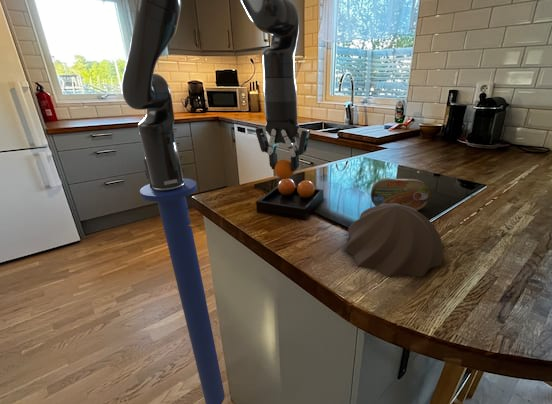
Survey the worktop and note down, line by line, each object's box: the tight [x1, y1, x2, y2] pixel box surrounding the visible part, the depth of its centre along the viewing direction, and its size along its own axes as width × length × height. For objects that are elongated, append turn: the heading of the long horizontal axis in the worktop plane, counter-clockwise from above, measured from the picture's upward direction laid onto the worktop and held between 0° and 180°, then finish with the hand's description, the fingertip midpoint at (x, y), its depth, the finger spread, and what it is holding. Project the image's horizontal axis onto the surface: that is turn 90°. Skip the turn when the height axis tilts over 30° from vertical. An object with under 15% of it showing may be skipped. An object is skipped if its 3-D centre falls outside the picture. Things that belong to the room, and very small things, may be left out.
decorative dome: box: [344, 203, 444, 278], centre depth 60 cm, size 19×20×10 cm
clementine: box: [274, 158, 295, 180], centre depth 75 cm, size 5×5×5 cm
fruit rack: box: [255, 178, 324, 221], centre depth 82 cm, size 14×14×6 cm
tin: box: [370, 177, 431, 212], centre depth 79 cm, size 15×3×8 cm, turn 82°
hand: (284, 169), depth 75 cm, fingers closed on clementine, 5 cm apart
